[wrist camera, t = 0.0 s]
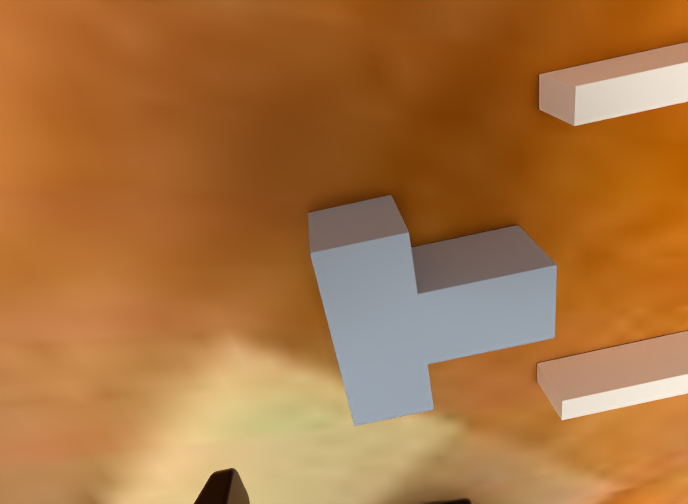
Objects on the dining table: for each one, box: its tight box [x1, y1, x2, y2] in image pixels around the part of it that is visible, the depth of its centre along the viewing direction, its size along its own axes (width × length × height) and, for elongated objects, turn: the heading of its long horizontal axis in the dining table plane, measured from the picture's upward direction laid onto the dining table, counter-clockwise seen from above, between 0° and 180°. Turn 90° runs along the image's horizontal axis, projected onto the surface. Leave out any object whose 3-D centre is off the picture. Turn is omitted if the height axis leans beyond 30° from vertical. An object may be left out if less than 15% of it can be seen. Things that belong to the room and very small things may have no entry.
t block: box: [308, 195, 557, 426], centre depth 23 cm, size 10×10×4 cm
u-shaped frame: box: [537, 42, 688, 420], centre depth 24 cm, size 18×12×3 cm
